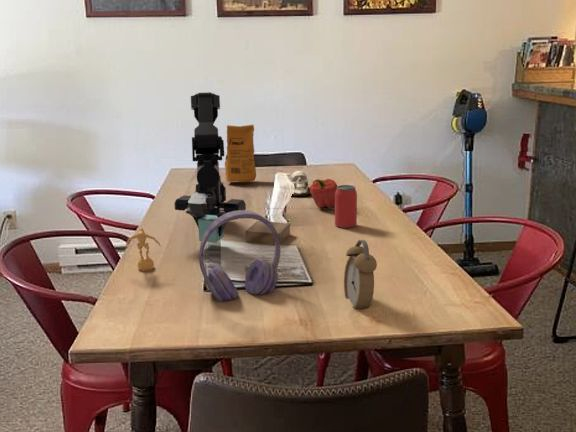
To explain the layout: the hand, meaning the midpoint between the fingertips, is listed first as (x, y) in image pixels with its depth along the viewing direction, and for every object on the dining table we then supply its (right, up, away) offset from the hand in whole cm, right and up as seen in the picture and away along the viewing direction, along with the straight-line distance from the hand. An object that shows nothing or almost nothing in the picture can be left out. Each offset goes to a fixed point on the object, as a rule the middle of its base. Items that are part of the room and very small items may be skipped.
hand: (211, 235), depth 173 cm
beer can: (+38, +2, +20) cm, 43 cm away
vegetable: (+33, +8, +41) cm, 53 cm away
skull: (+29, +12, +61) cm, 69 cm away
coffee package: (+2, +20, +82) cm, 84 cm away
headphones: (+11, -13, -32) cm, 36 cm away
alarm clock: (+36, -14, -37) cm, 54 cm away
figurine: (-14, -9, -16) cm, 24 cm away
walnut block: (+15, -2, +8) cm, 17 cm away
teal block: (0, -1, 0) cm, 1 cm away
